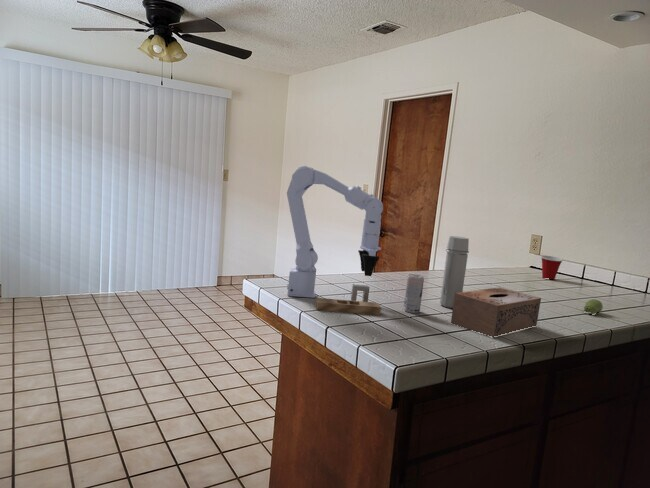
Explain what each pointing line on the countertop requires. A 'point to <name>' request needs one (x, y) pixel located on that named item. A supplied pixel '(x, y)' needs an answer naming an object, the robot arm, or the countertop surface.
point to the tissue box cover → (495, 310)
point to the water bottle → (454, 269)
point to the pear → (593, 306)
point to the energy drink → (413, 293)
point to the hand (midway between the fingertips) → (366, 273)
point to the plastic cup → (550, 266)
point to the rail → (348, 306)
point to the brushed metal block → (360, 288)
